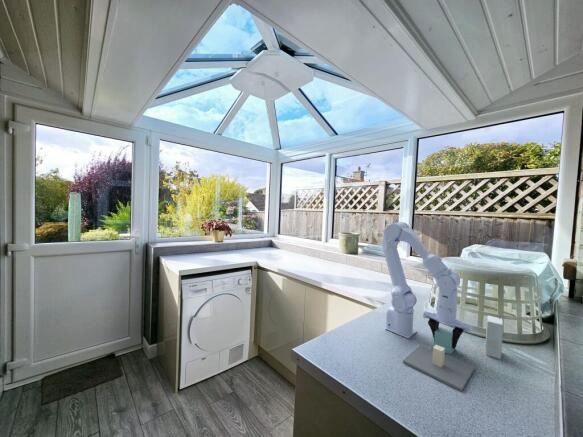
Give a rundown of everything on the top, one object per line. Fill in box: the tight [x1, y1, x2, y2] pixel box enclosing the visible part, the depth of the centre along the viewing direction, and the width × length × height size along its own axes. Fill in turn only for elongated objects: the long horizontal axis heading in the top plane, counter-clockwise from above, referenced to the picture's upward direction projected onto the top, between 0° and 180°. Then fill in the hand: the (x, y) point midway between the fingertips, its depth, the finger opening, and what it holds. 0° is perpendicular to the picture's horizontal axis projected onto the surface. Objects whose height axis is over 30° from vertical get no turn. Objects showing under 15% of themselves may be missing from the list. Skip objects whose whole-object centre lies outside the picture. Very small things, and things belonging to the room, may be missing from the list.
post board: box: [402, 344, 476, 393], centre depth 77 cm, size 16×14×6 cm
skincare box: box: [484, 315, 504, 360], centre depth 85 cm, size 6×4×12 cm
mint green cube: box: [433, 326, 456, 355], centre depth 87 cm, size 5×5×6 cm
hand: (444, 343), depth 87 cm, fingers closed on mint green cube, 5 cm apart
